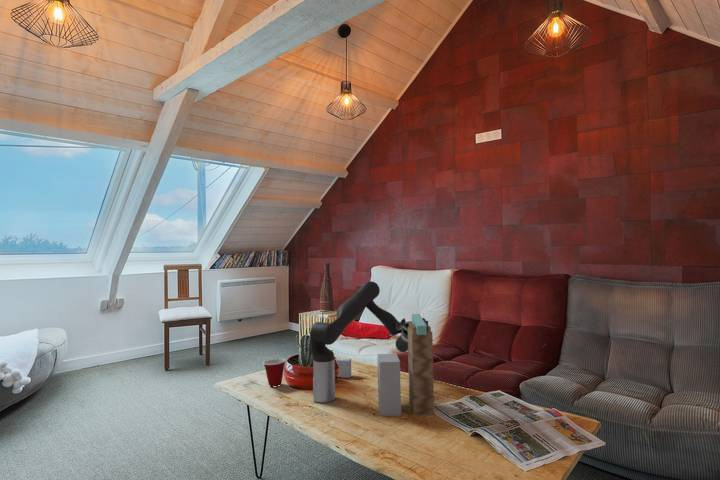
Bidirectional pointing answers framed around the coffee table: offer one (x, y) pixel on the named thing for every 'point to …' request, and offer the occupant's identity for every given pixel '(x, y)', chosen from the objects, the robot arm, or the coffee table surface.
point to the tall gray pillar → (389, 385)
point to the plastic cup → (274, 371)
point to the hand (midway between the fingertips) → (414, 320)
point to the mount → (420, 371)
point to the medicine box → (344, 368)
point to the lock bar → (419, 324)
